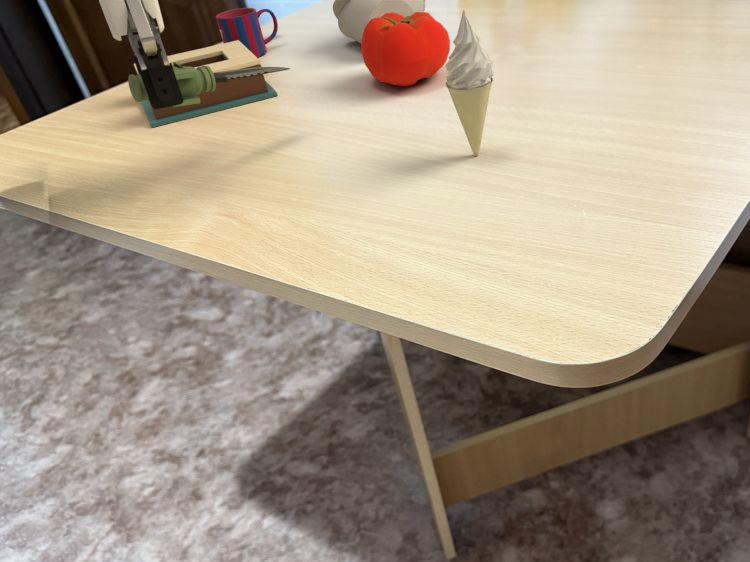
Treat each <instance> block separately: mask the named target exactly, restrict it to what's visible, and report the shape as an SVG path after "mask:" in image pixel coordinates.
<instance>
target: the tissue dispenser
mask: <svg viewBox="0 0 750 562" xmlns="http://www.w3.org/2000/svg"><path fill="white" fill-rule="evenodd" d="M167 58H168V61H169V63H171V64H172V66H174V64H173V62H178V63H180V64H181V65H182V66H186V67H194V68H195V69H196V68H197V67H201V66H209V67H210V68H211V70H212V71H213V73H214V72H215V73H216V72H222V71H229V70H237V69H244V68H254V67H262V64H261V60H260V59H259V57H258V58H257V57H256V56H255V55H254V54H253V53H252V52H250V51H249V50H248V49H247V48H246V47H245V46H244V45H243V44H242V43H241V42H240V41H239V40H237V41H232V42H228V43H220V44H215V45H210V46H206V47H202V48H198V49H193V50H189V51H184V52H180V53H175V54H171V55H167ZM133 67H134V69H135V72H136V75H138V74H139V73H138V70H137V67H136V64H135V63H133ZM197 97H200V102H201V103H198V104H192V105H185V106H179V107H172V106H170V107H166V108H161V109H154V108H153V107H152V105H151V103H150V100H149V99H148V100H147V101H142V102H140V103H141V106H142V107H143V110H144V113H145V115H146V118H147V120H148V122H149V125H150V128H157V127H161V126H164V125H168V124H172V123H176V122H180V121H184V120H188V119H193V118H196V117H200V116H204V115H208V114H211V113H216V112H220V111H224V110H228V109H231V108H236V107H239V106H244V105H248V104H251V103H255V102H259V101H263V100H268V99H271V98H275V97H278V92H277V91H276V90H275V88H273V87H272V86H271V84H269V83H268V81H267V80H266V78H265V74H263V75H258V76H253V77H248V78H241V79H233V80H229V81H228V82H218V83H216V88H215V91H212V92H209V91H207V92H202V91H201V93H200V94H198V95H197Z"/></svg>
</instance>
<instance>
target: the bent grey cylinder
mask: <svg viewBox="0 0 750 562" xmlns="http://www.w3.org/2000/svg"><path fill="white" fill-rule="evenodd" d="M425 10H426V0H334V1H333V4H332V12H333V14H334V17H335V19H336V20H337V25H338V29H339V30H340V32H341V34H342V35H344V36H345V37H347V38H349V39H351V40H353V41H355V42H357V43H359V44H361V40H362V36H363V31H364V29H365V27H366V25H367V24H368V22H369V21H370V20H371V19H373V18H378V17H379V18H380V17H381V16H383V15H384V14H386V13H397V14H400V15H403V16H404V17H407V16H411V15H413V14H414V13H415V12H426V11H425Z"/></svg>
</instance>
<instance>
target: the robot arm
mask: <svg viewBox="0 0 750 562" xmlns="http://www.w3.org/2000/svg"><path fill="white" fill-rule="evenodd" d="M98 1H99V2H98V3H99V5H100V7H101V10H102V13H103V15H104V18H105V21H106V23H107V25H108V29H109V30H110V33H111V35H112V38H113V39H115V41H119V42H122V41H123V39H122V36H127V39H128V41H129V43H130V46H131V47H130V48H131V50H132V52H133V56H132V59H133V61H134V64H136V67H137V70H138V73H139V74H140V75H141V78H142V81H143V83H144V86H145V89H146V92H147V94H148V97H149V100H150V103H151V105H152V107H153V108H154V109H161V108H166V107H170V106H175V105H179V104H182V103H183V97H182V94H181V91H180V88H179V85H178V82H177V79H176V76H175V73H174V70H173V67H172V64H171V63H169V61H168V58H167V56H168V55H167V53H166V49H165V47H164V44H163V41H162V38H161V34H162V33H163V32H164V30H165V24H164V20H163V15H162V12H161V8H160V4H159V1H158V0H98Z"/></svg>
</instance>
